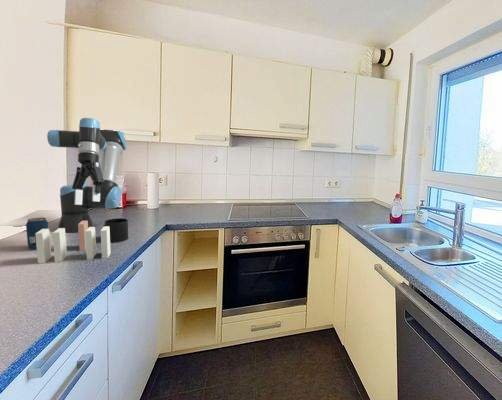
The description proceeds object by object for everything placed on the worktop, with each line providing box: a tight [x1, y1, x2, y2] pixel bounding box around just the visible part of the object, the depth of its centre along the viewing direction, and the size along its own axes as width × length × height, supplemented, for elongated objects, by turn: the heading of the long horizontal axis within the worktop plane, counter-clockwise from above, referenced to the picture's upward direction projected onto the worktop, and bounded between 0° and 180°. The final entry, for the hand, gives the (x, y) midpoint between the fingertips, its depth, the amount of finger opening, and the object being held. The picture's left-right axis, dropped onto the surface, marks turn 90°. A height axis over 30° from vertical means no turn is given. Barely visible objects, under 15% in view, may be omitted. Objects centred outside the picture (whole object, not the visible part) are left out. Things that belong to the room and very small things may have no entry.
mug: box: [102, 217, 129, 243], centre depth 120 cm, size 9×12×9 cm
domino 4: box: [85, 226, 97, 261], centre depth 99 cm, size 2×6×11 cm, turn 20°
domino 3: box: [77, 221, 88, 251], centre depth 107 cm, size 2×6×11 cm, turn 20°
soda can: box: [25, 217, 49, 251], centre depth 105 cm, size 7×7×12 cm
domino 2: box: [52, 227, 68, 263], centre depth 95 cm, size 2×6×11 cm, turn 20°
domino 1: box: [35, 228, 52, 264], centre depth 94 cm, size 2×6×11 cm, turn 19°
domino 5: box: [100, 225, 112, 259], centre depth 100 cm, size 2×6×11 cm, turn 20°
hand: (86, 203), depth 108 cm, fingers open, 13 cm apart
